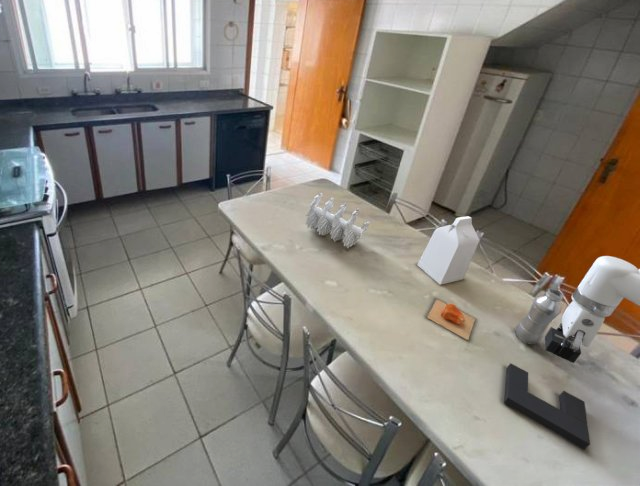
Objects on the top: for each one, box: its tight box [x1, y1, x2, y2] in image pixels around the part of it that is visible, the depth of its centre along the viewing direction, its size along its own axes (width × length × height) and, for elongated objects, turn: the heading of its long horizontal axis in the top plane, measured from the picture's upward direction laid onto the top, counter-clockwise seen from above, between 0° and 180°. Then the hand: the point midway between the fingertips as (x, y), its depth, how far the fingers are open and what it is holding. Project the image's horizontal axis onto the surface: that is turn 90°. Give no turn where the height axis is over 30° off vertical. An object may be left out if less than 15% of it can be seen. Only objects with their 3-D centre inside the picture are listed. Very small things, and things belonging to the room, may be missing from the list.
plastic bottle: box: [514, 287, 565, 345], centre depth 101 cm, size 6×7×20 cm
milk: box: [417, 215, 480, 286], centre depth 126 cm, size 12×12×26 cm
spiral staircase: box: [305, 192, 370, 249], centre depth 145 cm, size 18×18×25 cm
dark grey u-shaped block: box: [503, 362, 591, 450], centre depth 86 cm, size 16×13×2 cm
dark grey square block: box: [544, 326, 582, 364], centre depth 91 cm, size 6×6×4 cm
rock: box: [426, 298, 476, 341], centre depth 110 cm, size 12×12×4 cm
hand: (559, 347), depth 92 cm, fingers closed on dark grey square block, 6 cm apart
